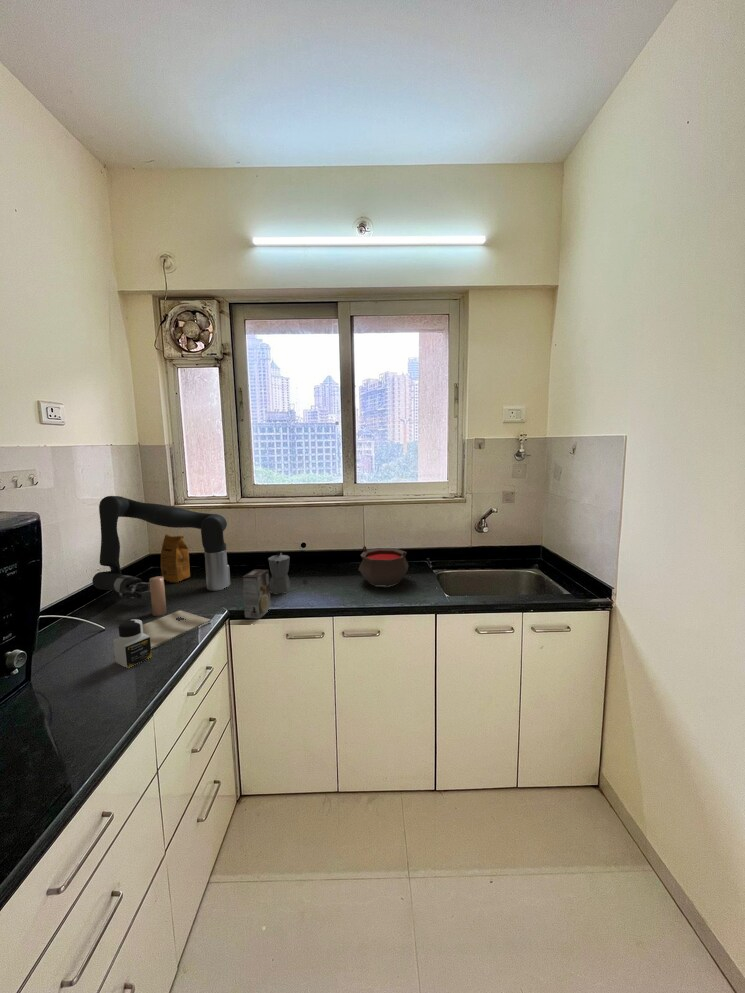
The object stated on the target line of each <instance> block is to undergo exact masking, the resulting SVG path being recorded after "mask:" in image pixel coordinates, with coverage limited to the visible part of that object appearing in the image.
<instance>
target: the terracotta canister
mask: <svg viewBox="0 0 745 993" xmlns="http://www.w3.org/2000/svg"><path fill="white" fill-rule="evenodd" d="M148 583H150V586H149V590H150V592H149V593H150V601H151V602H150V603H151V613H152V616H153V617H160V616H165V615H166V614H167V612H168V611H167V600H166V590H165V581H164V577H162V575H160V576H159V575H158V576H154V577H150V578H149V581H148Z"/></svg>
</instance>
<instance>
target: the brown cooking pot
mask: <svg viewBox="0 0 745 993" xmlns="http://www.w3.org/2000/svg"><path fill="white" fill-rule="evenodd" d="M362 550H363V552H362V553H361V554H360V557H361V559H362V560H361V563H360V564H359V567H358V571H359V573H360V574H361V575H362V577H363V578H364V579H365V581H368V582H370V583H372V584H374V585H386V586H389V585H393V584H396V583H399V584H400V582H401V581H402V580H403V579H404V577H405V575H406V574H407V572H408V569H409V563H408V560H407V558H406V555H407V551H404V550H403V549H402V550H401V549H398V548H392V547H391V548H390V547H375V548H372V549H367V547H366V545H365V544H364V545H363V547H362ZM368 582H367V583H368Z"/></svg>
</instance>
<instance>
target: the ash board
mask: <svg viewBox="0 0 745 993" xmlns="http://www.w3.org/2000/svg"><path fill="white" fill-rule="evenodd" d="M178 617H179V618H180V617H181V618H184V620H180V621H178V620H176V618H178ZM185 619H186V620H185ZM210 620H211V619H210V618H206V617H203V616H200V615H196V614H195V613H194V614H193V613H191V612H187V611H184V610H176V611H174V612H172V613H170V614H168V615H163V616H162V617H159V618H157V619H154V620H151V621H150V622H147V623H144V624H142V626H143V633H144V634H146V635H149V636H150V643H151V649H152V648H154V647H157V646H158V645H160V644H162V643H164V642H166V641H168V640H170V639H172V638H174V637H176V636H178V635H180V634H182V633H184V632H186V631H189V630H191V629H193V628H196V627H198V626H200V625H202V624H204V623H206V622H208V621H210Z"/></svg>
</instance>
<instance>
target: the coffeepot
mask: <svg viewBox="0 0 745 993" xmlns="http://www.w3.org/2000/svg"><path fill="white" fill-rule="evenodd" d="M290 560H291V557H290V556H289V555H288V554H287V555H286V554H283V552H281V551H280V550H278V551H277V550H276V555H271V556H270V557H268V558H267V561H268V564H269V565H268V566H269V572H270V574H271V578H270V584H269V585H270V591H271V592H272V593H284V592H288V591H289V590H290V589H291V590H292V588H291V583H290V577H289V575H288V572H290V571H289V570H290ZM291 590H290V591H291ZM290 591H289V592H290ZM271 592H270V593H271ZM289 592H288V593H289ZM272 593H271V594H272Z"/></svg>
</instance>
